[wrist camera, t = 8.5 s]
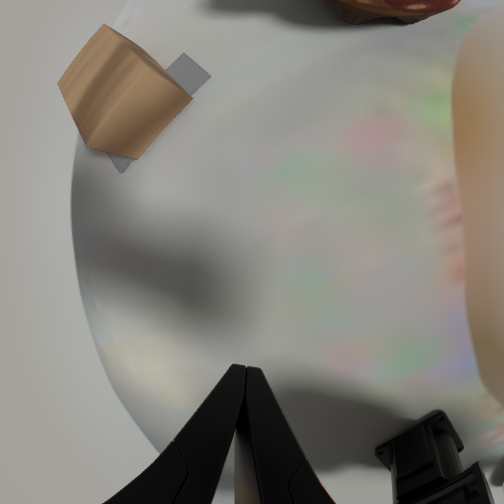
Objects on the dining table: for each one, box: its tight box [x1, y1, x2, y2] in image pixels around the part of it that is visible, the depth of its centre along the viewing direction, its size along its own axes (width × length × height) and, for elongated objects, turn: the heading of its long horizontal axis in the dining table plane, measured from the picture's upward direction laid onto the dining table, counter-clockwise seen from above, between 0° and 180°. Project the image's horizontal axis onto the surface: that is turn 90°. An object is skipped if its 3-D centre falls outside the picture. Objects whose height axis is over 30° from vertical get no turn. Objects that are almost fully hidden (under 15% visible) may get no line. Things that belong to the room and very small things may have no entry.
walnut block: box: [57, 24, 193, 160], centre depth 17 cm, size 5×6×9 cm
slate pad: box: [107, 53, 211, 173], centre depth 19 cm, size 4×10×1 cm, turn 131°
